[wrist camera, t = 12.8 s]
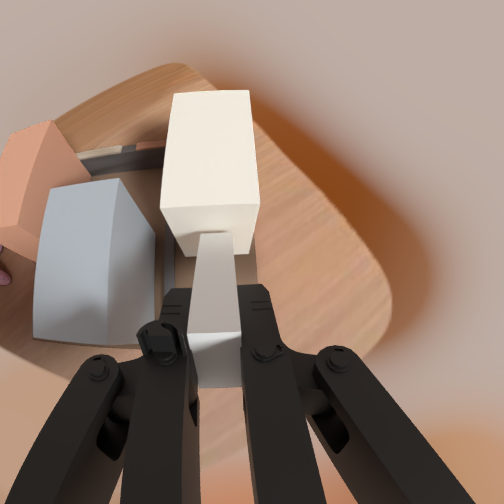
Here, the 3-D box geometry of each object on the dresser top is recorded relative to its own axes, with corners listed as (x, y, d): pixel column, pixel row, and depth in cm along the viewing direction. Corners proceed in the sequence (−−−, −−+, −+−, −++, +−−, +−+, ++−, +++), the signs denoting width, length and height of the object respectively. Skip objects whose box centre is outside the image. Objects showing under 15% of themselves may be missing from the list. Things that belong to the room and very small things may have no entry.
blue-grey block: (155, 342, 15) (108, 345, 9) (99, 340, 15) (33, 337, 8) (155, 233, 17) (119, 177, 11) (102, 237, 17) (50, 188, 10)
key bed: (260, 345, 17) (268, 348, 14) (40, 339, 16) (11, 337, 12) (247, 164, 21) (250, 135, 18) (58, 183, 19) (38, 162, 16)
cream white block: (248, 254, 18) (260, 203, 11) (185, 256, 17) (159, 208, 10) (242, 162, 20) (248, 90, 13) (188, 164, 19) (174, 93, 12)
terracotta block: (77, 262, 16) (17, 224, 10) (38, 263, 16) (-23, 231, 9) (91, 175, 18) (51, 119, 12) (53, 182, 18) (10, 134, 11)
